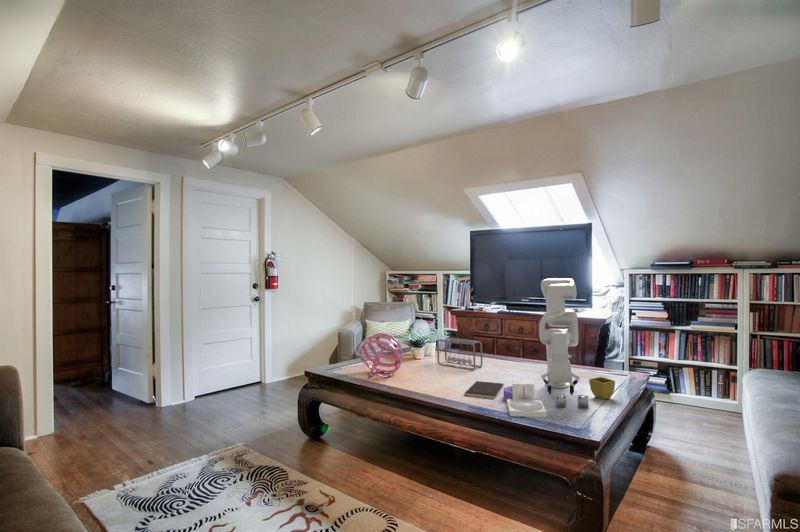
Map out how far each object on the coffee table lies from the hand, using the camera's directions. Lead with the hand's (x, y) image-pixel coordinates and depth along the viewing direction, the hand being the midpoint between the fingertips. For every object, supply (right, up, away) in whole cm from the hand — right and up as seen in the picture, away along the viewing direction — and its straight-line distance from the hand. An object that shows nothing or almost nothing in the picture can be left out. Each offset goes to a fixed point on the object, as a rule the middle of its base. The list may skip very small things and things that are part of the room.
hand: (560, 394), depth 193 cm
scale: (-18, -6, -3) cm, 19 cm away
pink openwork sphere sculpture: (-87, -9, +67) cm, 110 cm away
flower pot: (+26, -6, +11) cm, 29 cm away
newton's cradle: (-36, -8, +86) cm, 93 cm away
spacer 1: (0, -6, +1) cm, 6 cm away
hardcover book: (-30, -8, +27) cm, 42 cm away
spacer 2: (+10, -6, -1) cm, 12 cm away
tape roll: (-18, -7, +13) cm, 23 cm away
